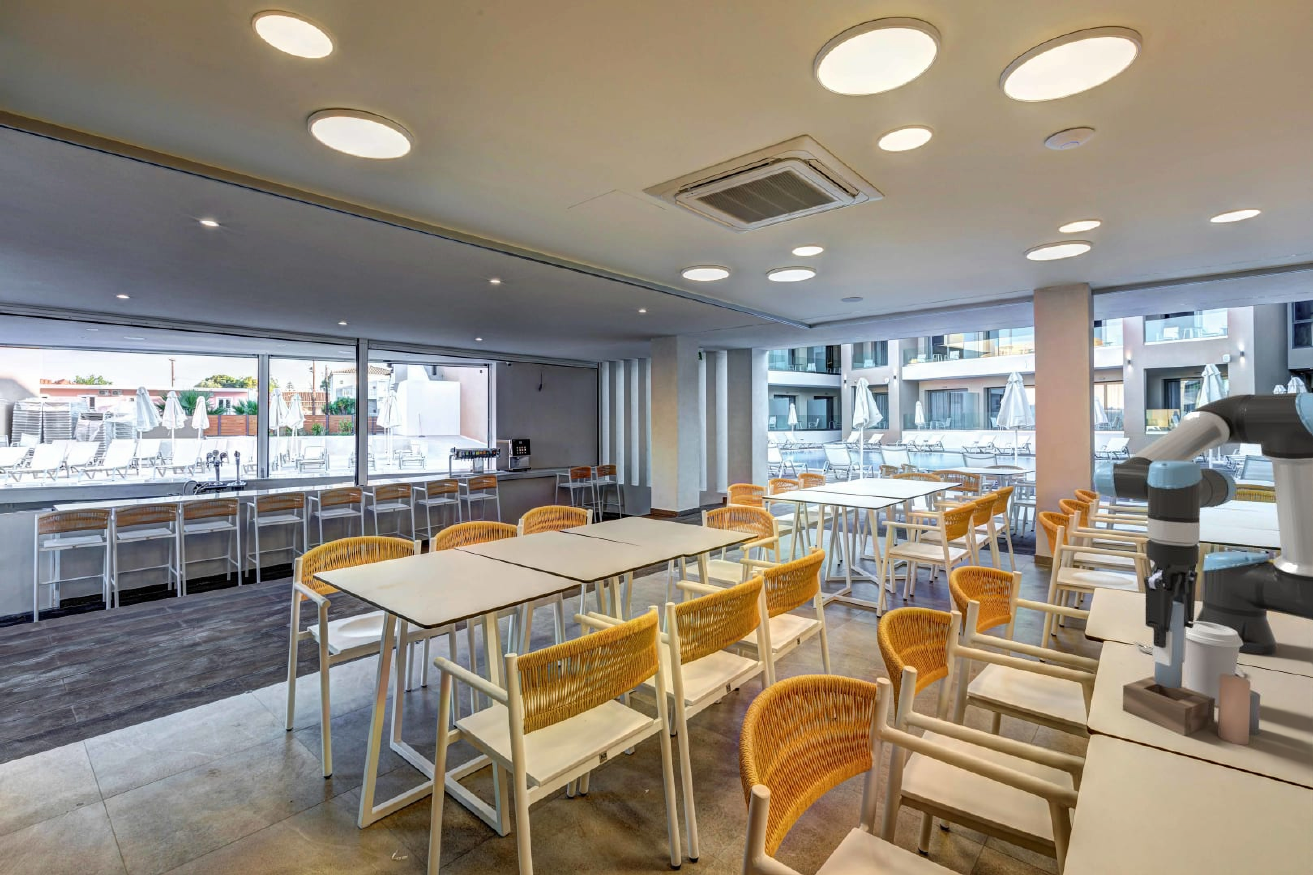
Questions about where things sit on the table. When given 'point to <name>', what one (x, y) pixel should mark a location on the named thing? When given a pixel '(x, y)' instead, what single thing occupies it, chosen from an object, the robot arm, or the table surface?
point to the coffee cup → (1210, 656)
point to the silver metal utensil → (1238, 670)
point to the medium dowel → (1234, 709)
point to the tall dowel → (1173, 652)
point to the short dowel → (1254, 712)
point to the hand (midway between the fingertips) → (1168, 660)
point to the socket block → (1169, 706)
